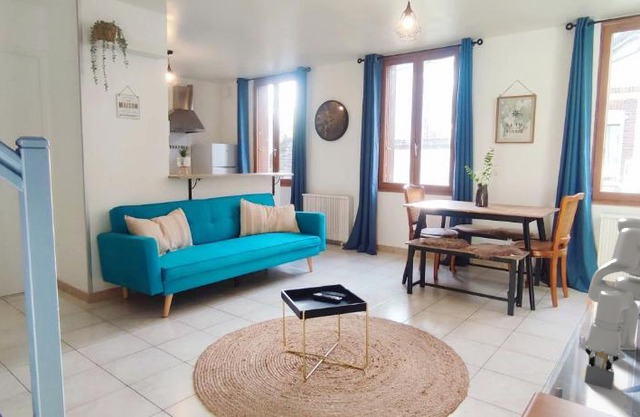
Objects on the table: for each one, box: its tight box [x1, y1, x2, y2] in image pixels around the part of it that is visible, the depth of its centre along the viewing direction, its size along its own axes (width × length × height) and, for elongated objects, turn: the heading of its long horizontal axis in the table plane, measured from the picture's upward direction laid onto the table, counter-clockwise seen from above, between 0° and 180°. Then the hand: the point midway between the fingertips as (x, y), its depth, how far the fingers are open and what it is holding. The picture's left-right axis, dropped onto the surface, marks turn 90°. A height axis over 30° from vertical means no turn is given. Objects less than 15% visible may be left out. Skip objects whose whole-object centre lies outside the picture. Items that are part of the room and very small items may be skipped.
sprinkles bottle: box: [593, 349, 609, 370], centre depth 163 cm, size 5×5×13 cm
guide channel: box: [584, 352, 615, 390], centre depth 170 cm, size 27×8×6 cm, turn 148°
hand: (599, 368), depth 164 cm, fingers closed on sprinkles bottle, 4 cm apart
